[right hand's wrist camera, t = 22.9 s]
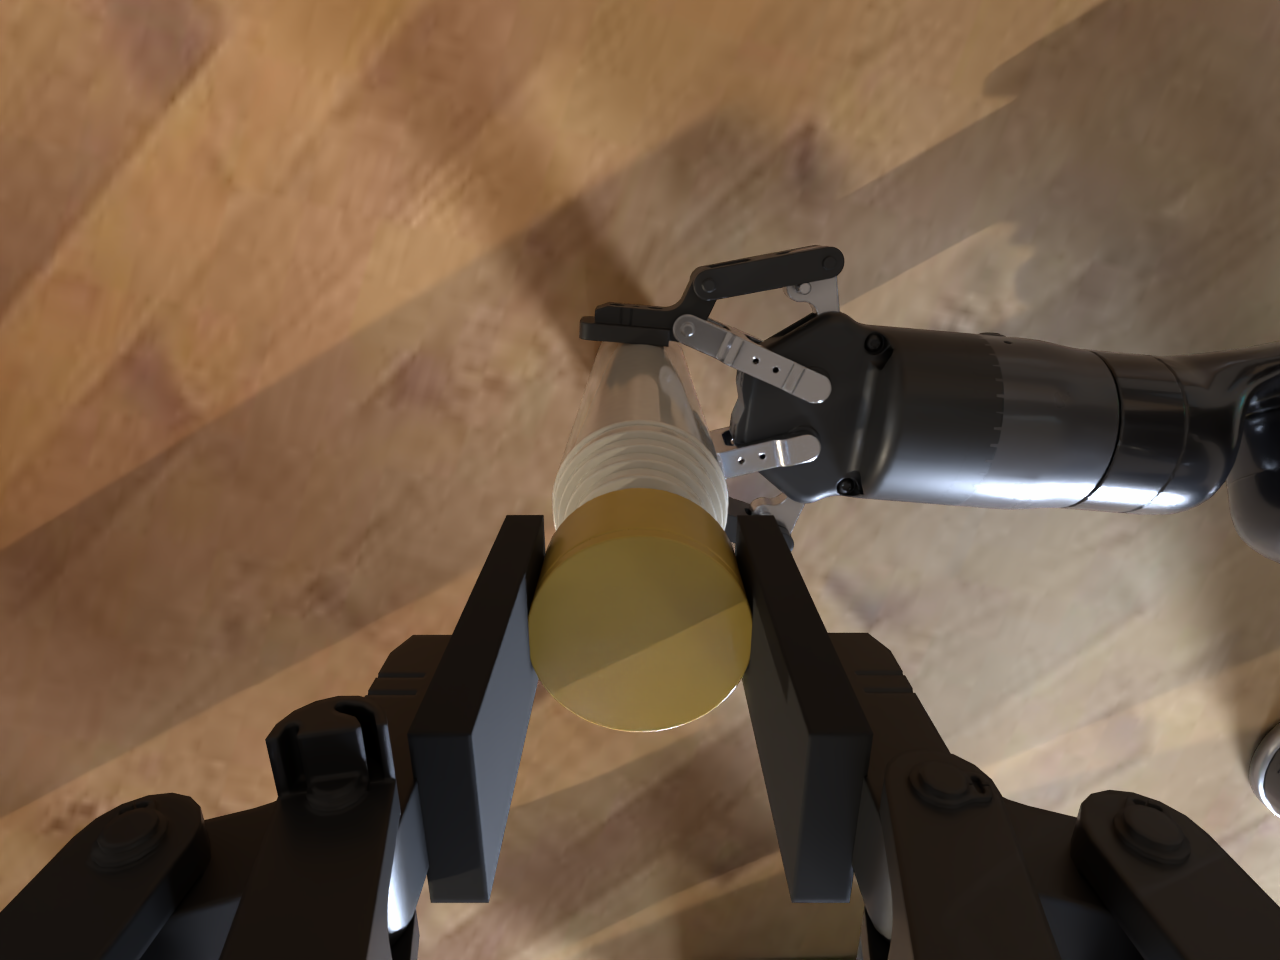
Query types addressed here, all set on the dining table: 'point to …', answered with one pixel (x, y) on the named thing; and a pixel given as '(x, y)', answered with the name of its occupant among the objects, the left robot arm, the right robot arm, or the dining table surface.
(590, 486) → the bottle
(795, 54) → the dining table surface
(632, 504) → the cap
